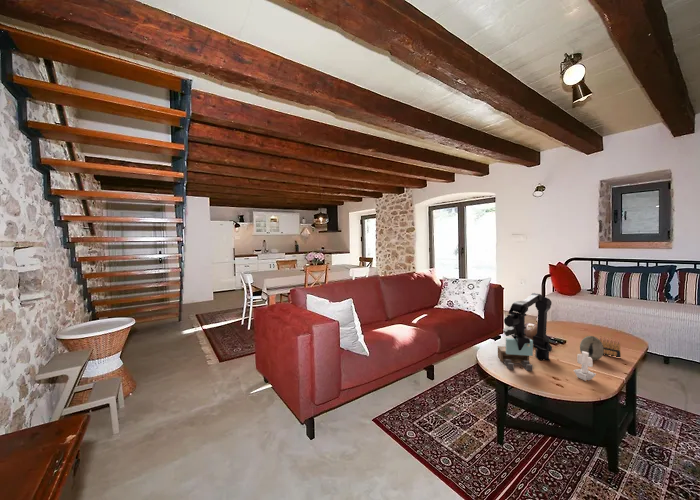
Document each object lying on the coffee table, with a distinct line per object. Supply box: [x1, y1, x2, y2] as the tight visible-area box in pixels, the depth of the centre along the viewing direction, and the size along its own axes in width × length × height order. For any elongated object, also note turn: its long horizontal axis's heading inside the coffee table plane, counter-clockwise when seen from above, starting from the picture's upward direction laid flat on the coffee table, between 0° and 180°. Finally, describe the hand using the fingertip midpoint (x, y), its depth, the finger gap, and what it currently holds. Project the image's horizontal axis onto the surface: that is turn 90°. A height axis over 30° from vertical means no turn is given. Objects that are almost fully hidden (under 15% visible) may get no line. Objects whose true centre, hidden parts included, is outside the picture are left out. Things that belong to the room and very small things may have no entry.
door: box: [505, 337, 534, 357], centre depth 175 cm, size 14×4×9 cm, turn 76°
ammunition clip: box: [599, 336, 621, 357], centre depth 189 cm, size 11×2×12 cm, turn 41°
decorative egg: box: [579, 335, 604, 361], centre depth 184 cm, size 12×12×15 cm
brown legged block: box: [497, 345, 534, 372], centre depth 181 cm, size 16×18×7 cm
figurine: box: [572, 351, 597, 382], centre depth 161 cm, size 7×9×15 cm
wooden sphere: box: [523, 322, 537, 341], centre depth 213 cm, size 15×15×15 cm
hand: (518, 349), depth 175 cm, fingers closed on door, 2 cm apart
